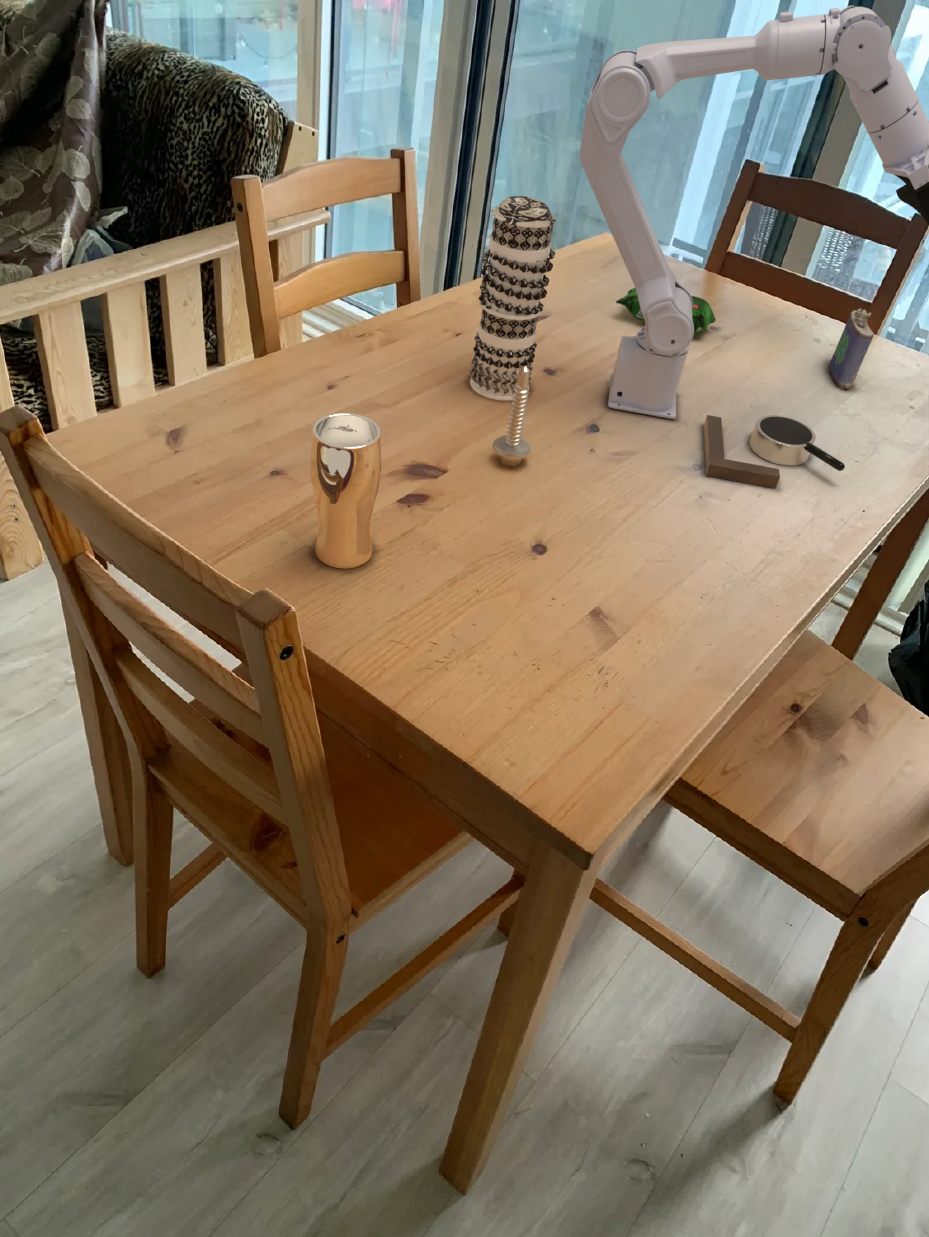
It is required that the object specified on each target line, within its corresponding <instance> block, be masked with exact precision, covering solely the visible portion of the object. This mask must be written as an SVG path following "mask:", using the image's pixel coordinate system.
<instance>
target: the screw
mask: <svg viewBox="0 0 929 1237" xmlns="http://www.w3.org/2000/svg"><path fill="white" fill-rule="evenodd" d="M529 375H530V370H529V369H528V368H527V367H526V366H523V367H520V368H519V375H518V381H517V384H515V386H516V388H514V391H515V392H514V393H513V395H514V397H513V398H512V399H513V400H511V404H512V405H511V406H510V410H509V413H510V414H509V419H508V424H507V425H508V427H507V430H508V431H506V435H502V436H499V437H497V438H496V439H495V440H493V442H492V450H493V451H494V452H495V453H496V454H497V455H498V456H499V457H498V458H499V460H500V462H501V464H502V465H505V466H509V467H515V466H517V465H520V464H521V463H522V460H523V459H526V458H528V457H529V456H530V455H531V453H532V446H531V444H530V443H529V442H528V441H527V440H526V439H524V438H522V434H523V430H524V422H525V417H526V413H527V410H526V409H527V407H528V406H527V404H528V400H529V397H528V396H529V395H530V392H529V391H530V386H529V387H528V381H529ZM530 376H531V375H530ZM529 382H530V381H529Z"/></svg>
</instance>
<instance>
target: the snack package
mask: <svg viewBox="0 0 929 1237" xmlns="http://www.w3.org/2000/svg"><path fill="white" fill-rule="evenodd" d="M691 296H692V299H693V309H692V321H693V325H694V335H693V336H695V335H697V334H699V333H700V332H704V331H706V330H707V329H708V327H709V325H710V324H713V323H715V322H716V321H717V320H716V316H715V314H714V311H713V309H712V307H711V305H710V303H709V302H708V301H707V300H706V299H705V298H702V297H698V296H695V295H691ZM615 302H616V303H615V304H619V305H622V306H624V307H625V308H626V309H627V311H628V312H629V314H630V315H631V316H632V317H633V318H634V319H635V320H637V321H638V322H640V323H643V324H645V319H644V316H643V314H642V312H641V308H640V304H639V300H638V295H637V291H636V288H635V287H633V288H631V289H629V290H628V291H627V294H626V295H625V296H623V297H620V298H619V299H617V300H615Z"/></svg>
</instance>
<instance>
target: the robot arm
mask: <svg viewBox="0 0 929 1237" xmlns="http://www.w3.org/2000/svg"><path fill="white" fill-rule="evenodd" d="M891 43H892V32H891V28H890V26H889V25H887V24H886V22H884V20H882V18H881V17H880V16H879V15H877V13H876V12H875V11H873V10H872V9H871V8H868V7H864V6H856V5H853V4H852V5H848V6H846V7H844V8H843V9H840V8H839V7H831V8H829V10H828V13H824V14H815V15H807V16H798V17H794V13H793V11H790V10H789V11H783V12H780V13H779V19H772V20H771V19H770V20H768V21H767V22H765V24H764V25H763V26H762V28H761V29H760V30H759V31H758V32H757V33H756V34H754V35H746V36H730V37H718V38H717V37H716V38H704V39H703V38H701V39H688V40H687V39H686V40H674V41H664V42H657V43H648V44H644V45H642V46H638V47H637V48H636V50H633V49H622V50H618V51H616V52H613V54H611V55H609V57H607V58H606V60H605V61H604V62H603V64H602V66H601V68H600V70H599V72H598V74H597V76H596V78H595V80H594V82H593V84H592V87H591V89H590V94H589V98H588V100H587V103H586V108H585V115H584V122H583V129H582V135H581V142H580V147H579V155H578V156H579V157H578V158H579V162H580V164H581V166H582V169H583V171H584V174H585V176H586V178H587V180H588V183H589V185H590V188H591V190H592V192H593V194H594V196H595V199H596V201H597V203H598V206H599V207H600V210H601V212H602V214H603V217H604V220H605V221H606V224H607V226H608V229H609V231H610V233H611V235H612V238H613V240H614V242H615V245H616V247H617V250H618V251H619V253H620V256H621V259H622V260H623V262H624V263H623V264H624V265H625V267H626V269H627V272H628V274H629V277H630V278H631V281H632V283H633V286H634V288H636V291H637V295H638V300H639V304H640V308H641V312H642V314H643V316H644V319H645V323H644V324H645V325H644V326H643V327H642V328H641V330H639V331H638V333H637V334H636V335H634V336H633V335H632V336H627V335H623V336H621V339H620V341H619V346H618V349H617V350H618V351H617V355H616V358H615V363H614V367H613V371H612V373H611V374H610V376H609V381H608V387H609V392H608V401H607V406H608V408H610V409H613V410H614V409H615V410H620V411H625V412H626V411H627V412H630V413H631V412H632V413H635V414H636V413H637V414H641V415H648V416H653V417H659V418H664V419H671V420H674V419H676V417H677V391H678V389H679V384H680V381H681V379H682V378H681V377H682V374H683V371H684V367H685V363H686V360H687V358H688V354H689V350H690V344H691V343H692V341H693V338H694V336H695V335H694V325H693V321H692V309H693V299H692V296H693V295H692V294H691V293H690V291H689V290H688V289H687V288H686V287H684V285H682V284H681V283H680V282H679V281H678V279H677V277H676V275H675V272H674V271H673V269H672V268H671V267H670V266H669V264H668V261H667V259H666V257H665V255H664V251H663V250H662V247H661V246H660V243H659V240H658V238H657V235H656V233H655V231H654V230H655V229H654V228H653V226H652V223H651V221H650V218H649V216H648V213H647V211H646V209H645V206H644V204H643V201H642V199H641V196H640V194H639V192H638V189H637V187H636V184H635V181H634V179H633V176H632V175H631V172H630V170H629V167H628V165H627V163H626V160H625V158H624V155H623V153H622V152H623V149H624V146H625V144H626V142H627V139H628V137H629V134H630V133H631V131H632V129H633V128H634V127H635V126H636V125H637V124H638V122H639V121H640V120H641V119H642V117H643V116H644V115H645V113H646V112H647V110H648V108H649V105H650V101H651V93H652V92H653V91H654V90H655V94H656V97H657V100H660V99H661V98H663V97H664V96H665V95H667V93H669V92H670V91H671V90H672V89H673V88H674V87H675V86H677V84H679V83H680V82H681V81H683V80H688V79H696V78H703V77H708V76H716V75H722V74H728V73H736V72H743V71H749V70H754V71H755V72H757V73H758V75H759V76H760V78H762V79H763V80H764V81H775V80H784V79H794V78H796V79H797V78H804V77H814V76H815V77H816V76H824V75H826V74H827V73H830V72H831V71H834V70H835V71H836V72H837V73H838V74H839V75H840V76H842V77H843V79H844V81H845V84H846V86H847V87H848V90H849V99H850V101H851V102H852V104H853V106H854V109H855V110H856V113H857V114H858V116H859V118H860V120H861V122H862V124H863V126H864V128H865V130H866V132H867V134H868V136H869V138H870V140H871V142H872V144H873V146H874V148H875V150H876V153H877V154H878V156H879V159H880V160H881V163H882V165H881V166H882V169H883V171H884V172H885V173H887V174H891V175H893V176H896V177H897V178H898V179H900V180H901V181H902V182H903V184H904V185H902V186H901V187H899V188H897V189H896V190H895V193H896V195H897V198H898V199H899V200H900V201H901V202H902V203H904V204H906V205H908V206H909V207H911V208H913V210H915V211H916V212H917V213H918V214H919V215H920V216H921V217H922V218H923V220H924V221H925V222H926V224H927V225H928V226H929V119H928V116H927V115H926V113H925V111H924V108H923V106H922V103H921V102H920V100H919V97H918V95H917V92H916V90H915V88H914V87H913V84H912V82H911V80H910V78H909V75H908V74H907V71H906V69H905V67H904V65H903V63H902V62H901V60H900V59H899V60H898V58H897V53H896V50H895V48H894V47H893V46H892V44H891Z"/></svg>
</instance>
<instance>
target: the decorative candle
mask: <svg viewBox="0 0 929 1237" xmlns="http://www.w3.org/2000/svg"><path fill="white" fill-rule="evenodd" d="M491 214H492V216H493V220H492V231H491V233H490V235H489V240H488V249H487V251H485V252H484V253H483V257H482V258H481V262H482V268H481V270H480V274H481V275H482V280H481V284H480V286H479V289H480V295H479V296H478V300H479V305H480V307H481V309H482V310H481V319H480V321H479V323H478V329H477V332H476V335H475V336H474V342H475V345H474V346H473V349H472V350H473V352H474V355H473V357H472V359H471V362H470V363H471V366H472V367H471V368H470V375H471V377H470V380H469V385H470V387H471V389H472V391H474V392H475V393H476V394H478V395H480V396H483V397H484V398H487V399H491V400H496V401H513V399H512V398H513V397H514V395H513V393H514V392H515V391H514V388H516V386H515V384H517V381H518V375H519V368H520V367H523V366H526V367H527V368H528V369H529V370H530V375H529V381H528V387H529V388H530V384H531V380H532V376H531V375H532V373H533V372H532V371H533V370H534V366H533V365H532V364H533V362H534V359H535V358H536V354H535V352H536V348H537V347H538V343H537V342H536V337H537V333H538V332H537V331H538V330H537V323H538V319H539V318H538V317H539V316H541V315H542V312H543V311H544V307H545V306H544V304H543V303H541V301H540V300H543V299H545V298H546V297H547V294H548V291H547V289H546V288H545V287H548V286H549V283H550V278H549V277H548V276H547V275H546V274H547V273H549V272H551V271H552V269H553V267H554V264H553V263H552V262H551V261H550V260H553V259H554V258H555V255H556V251H555V250H553V249H552V242H551V240H552V234H553V228H554V225H555V223H556V221H557V218H556V216H555V215H554V214H553V213H552V212H551V210H550V208H549V207H548V205H547V204H546V202H544V201H542V200H541V199H538V198H535V197H532V196H531V197H530V196H525V195H513V196H509V197H506V198H504V199H503V200H502V201H501V203H500V204H499V205H497V206H494V207H493V208H492V210H491Z"/></svg>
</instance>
